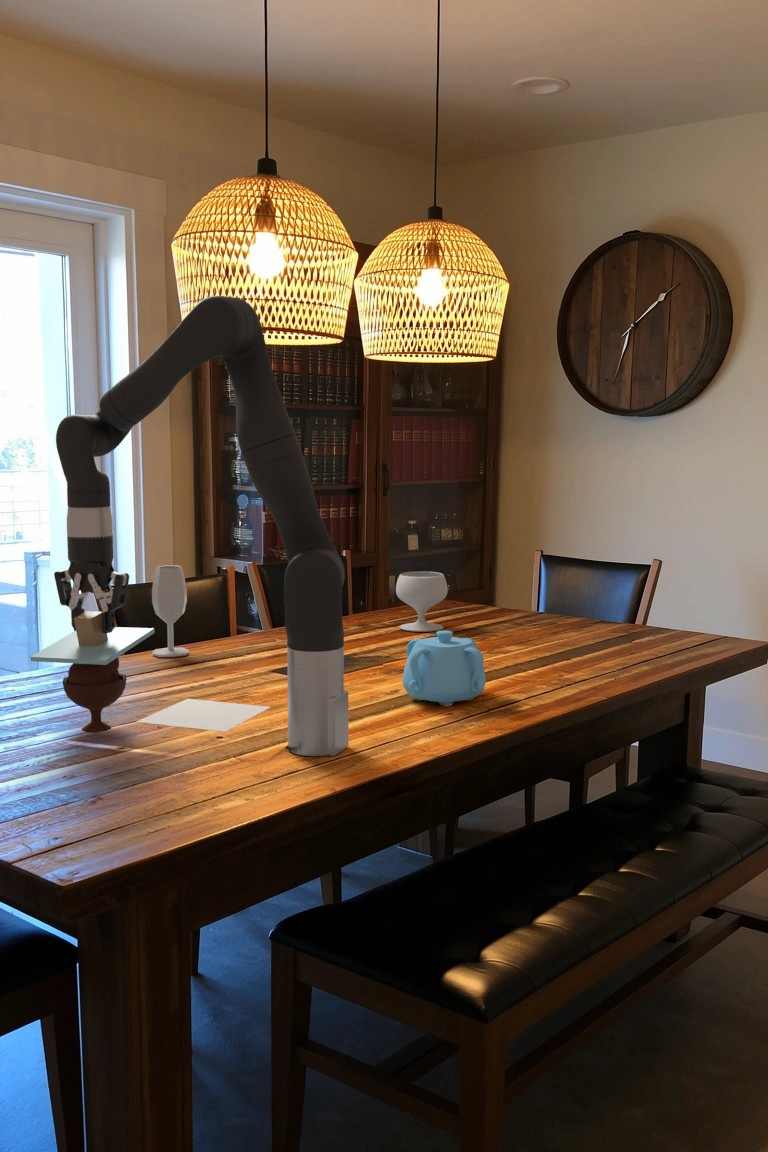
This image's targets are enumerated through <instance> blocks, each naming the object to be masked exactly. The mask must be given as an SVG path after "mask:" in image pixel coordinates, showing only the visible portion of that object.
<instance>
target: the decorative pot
mask: <svg viewBox="0 0 768 1152" xmlns="http://www.w3.org/2000/svg"><path fill="white" fill-rule="evenodd" d="M435 632H436V636H432V637H427V638H419V637H418V638H414V639H412V640H410V641H409V642H408V644H407V646H406V654H407V655H406V656H407V660H406V662H405V666H404V669H403V674H402V685H403V688H404V690H405V692H406V693H407V695H409V696H410V697H412V698H414V699H415V698H416V699H423V700H424V701H429V702H435V703H439V704H441V705H450V704H453V705H454V703H456V702H460V701H461V702H462V701H469V700H468V699H473V700H474V698H475V697H478V696H479V695H480V694H481V693H482V692H484V691H485V686H486V671H485V667H484V666H485V665H484V663H485V660H484V655H483V654H482V652H481V650H479V649H478V644H477V643H476V641H475V640H474V639H472V638H469V637H464V638H463V637H462V638H461V637H455V636H453V634H454V632H453V631H451V630H438V631H435ZM441 705H440V706H441Z"/></svg>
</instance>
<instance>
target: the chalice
mask: <svg viewBox="0 0 768 1152" xmlns="http://www.w3.org/2000/svg"><path fill="white" fill-rule="evenodd" d="M448 590H449V589H448V583H447V580H446V577H445V574H443V573H441V572H436V571H426V570H425V571H421V570H420V571H405V572H401V573H400V574H399V576H398V578H397V581H396V586H395V593H396V596H397V597H398V599H399V600H401V601H402V602H403V603H405V604H407V605H408V606H410V607H412V608H413V609H414V610H415V611H416V613H417V620H416V621H415V622H409V623H405V624H404V623H403V624H401V625H399V626H398V628H399V629H401V630H403V631H407V632H419V633H420V632H421V633H426V632H428V633H429V632H438V631H442V630H443V629H445V628H444V626H443V625H441V624H438V623H434V622H428V621H427V619H426V618H425V617H426V613H427V611H428V610H430V609H431V608H433V607H434V606H435V605H438V604H439V603H441V602H442V601H444V600H445V598H446V597H447V595H448Z"/></svg>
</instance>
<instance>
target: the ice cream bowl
mask: <svg viewBox="0 0 768 1152" xmlns="http://www.w3.org/2000/svg"><path fill="white" fill-rule="evenodd" d="M119 668H120V660H119V657H117V658H116V659H114V660H113V661H111V662H110V663H108V664H107V665H98V664H77V663H71V666H69V668H68V672H67V673H68V675H67V676H66V677H63V678H62V686H63V687H62V688H63V691H64V694H65V695H66V696H67V698H68V699H69V700H70V701H71V702H73V703H74V704H75V705H77V706H79V707H80V708H82V709H86V710H87V709H88V710H89V712H90V718H91V719H90V722H89V723H87V724H86V725H85V726H83V727H82V728H81V731H82V732H85V733H94V734H95V733H96V734H97V733H102V732H103V733H104V732H108V731H109V730H111V729H112V725H110V724H108V723H106V722H103V721H102V712H103V709H105V708H107V707H109V706H111V705H112V704H114V703H115V702H116V701H118V700H119V699H120V697H121V696H122V695H123V693H124V690H125V689H126V686H127V685H126V684H127V680H128V679H127V674H125V673H120V672H119Z"/></svg>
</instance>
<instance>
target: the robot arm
mask: <svg viewBox="0 0 768 1152" xmlns="http://www.w3.org/2000/svg"><path fill="white" fill-rule="evenodd" d="M216 357H221V360H222V361H223V365H224V366H225V368H226V372H227V373H228V376H229V379H230V381H231V384H232V385H231V386H232V388H233V391H234V397H235V414H236V415H235V420H236V424H235V425H236V436H237V442H238V446H239V449H240V453H241V456H242V458H243V461H244V464H245V466H246V469H247V472H248V474H249V477H250V480H251V481H252V485H254V488H255V490H256V492H257V493H258V495H259V497H260V499H261V501H262V502H263V505H264V506H265V507H266V508H267V510H268V512H269V513H270V515H271V517H272V519H273V521H274V522H275V523H274V524H276V527H277V529H278V531H279V534H280V537H281V541H282V544H283V547H284V551H285V554H286V559H287V563H288V564H287V566H286V569H285V572H284V579H283V580H284V582H283V586H284V588H283V591H284V593H283V595H284V596H283V597H284V599H283V601H284V603H283V604H284V626H285V627H284V628H285V632H286V633H285V634H286V646H287V647H286V649H287V650H286V651H287V652H286V654H287V655H286V656H287V657H286V658H287V671H286V672H287V749H288V751H289V752H290V753H292V754H296V755H299V756H306V757H322V756H333V757H334V756H337V755H339V753H342V751H344V750H345V749H346V748H348V747H349V691H348V690H347V689H345V684H344V683H345V677H344V676H345V675H344V674H345V673H344V671H345V669H344V667H345V653H344V651H345V650H344V649H345V647H344V645H345V643H344V642H345V641H344V640H345V637H344V636H345V631H344V623H343V586H344V583H345V578H346V570H345V567H344V563H343V560H342V558H341V557H340V555H339V553H338V551H337V549H336V547H335V545H334V543H333V541H332V539H331V537H330V534H329V532H328V530H327V528H326V525H325V524H324V521H323V519H322V516H321V514H320V510H319V507H318V504H317V500H316V499H317V498H316V496H315V492H314V488H313V484H312V481H311V477H310V473H309V469H308V467H307V463H306V459H305V456H304V454H303V451H302V448H301V445H300V442H299V439H298V437H297V436H298V435H296V431H295V429H294V426H293V423H292V421H291V418H290V416H289V412H288V410H287V407H286V404H285V402H284V399H283V397H282V394H281V392H280V388H279V386H278V383H277V381H276V378H275V374H274V372H273V368H272V363H271V360H270V356H269V352H268V348H267V344H266V341H265V335H264V332H263V328H262V324H261V321H260V318H259V316H258V314H257V311H256V310H255V309H254V308H253V306H252V305H251V304H250V303H248V302H247V301H245V300H244V299H242V298H239V297H233V296H226V295H213V296H208V297H205V298H203V299H201V300H200V301H199V302H198V303H197V304H196V305H195V306H194V307H193V308H191V310H190V311H189V312H188V313H187V315H186V316H185V317H184V318H183V320H181V322H180V323H179V324H178V325H177V327H176V328H175V329H174V330H173V331H172V332H171V333H170V335H168V337H167V338H166V339H165V340H164V341H163V342H162V343H161V344H160V345H159V346H158V347H157V349H156V350H154V351H153V352H152V353H151V354H150V355H149V356H148V357H146V358H145V360H144V361H142V363H140V364H139V365H138V366H136V367H135V368H134V369H133V370H132V371H130V372H129V373H128V374H127V375H126V376H124V377H123V378H121V380H119V381H118V382H117V383H115V385H113V386H112V387H111V388H109V389H108V390H107V391H106V392H105V393H104V394H102V396H101V398H100V400H99V409H100V410H98V411H97V412H96V413H94V414H70V415H67V416H65V417H63V419H62V420H61V421H60V423H59V424H58V425H57V430H56V432H55V433H56V435H55V445H56V446H55V447H56V449H57V454H58V458H59V461H60V465H61V469H62V472H63V475H64V478H65V480H66V481H65V482H66V484H67V485H66V499H67V503H66V504H67V512H66V513H67V514H66V538H67V539H66V541H67V543H66V544H67V559H68V561H69V563H70V564H69V567H68V569H63V570H58V571H55V572H54V574H53V576H54V581H55V585H56V590H57V595H58V599H59V603H60V605H61V606H66V607H68V608H69V609H70V615H71V616H70V617H71V627H72V628H73V632H74V631H76V627H75V622H74V618H75V617H77V616H79V615H80V614H82V613H84V612H85V608H83V606H84V603H85V601H86V598H87V596H88V595H89V593H91V594H94V595H95V598H96V600H98V602H99V605H100V607H101V609H102V611H101V612H102V632H103V633H110V632H112V631H113V629H114V628H115V627H116V615H115V612H116V610H118V609H119V608H122V607H125V606H126V599H127V594H128V587H129V582H130V575H129V573H127V572H125V573H122V572H118V571H117V572H116V571H115V568H114V567H113V561H114V557H115V556H114V534H113V533H114V532H113V525H114V524H113V516H112V515H113V514H112V509H111V486H110V479H109V476H108V475H107V474H106V473H104V472H102V471H99V470H98V468H97V464H96V461H95V458H98V457H99V458H100V457H103V456H105V455H108V454H110V453H111V452H112V451H114V450H115V449H116V448H118V447H119V446H120V444H121V443H122V442H123V441H124V439H125V438H127V436H128V435H129V433H130V432H131V430H132V428H133V427H135V426H136V425H138V424H139V423H140V422H141V421H142V420H144V419H145V418H147V417H148V416H149V415H150V414H151V413H153V412H154V411H155V410H156V409H158V407H160V406H161V405H162V404H163V403H164V402H165V400H166V399H167V398H168V397H169V396H170V394H171V393H172V391H173V390H174V389H175V387H176V386H177V385H178V384H179V383H180V382H181V380H183V379H184V377H186V376H187V375H188V374H189V373H190V372H192V371H193V370H195V369H196V368H198V367H199V366H202V365H203V364H205V363H207V362H208V361H210V360H212V359H215V358H216ZM71 580H72V582H73V584H72V583H71ZM111 581H112V585H113V587H112V586H111ZM72 585H73V586H72Z"/></svg>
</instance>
